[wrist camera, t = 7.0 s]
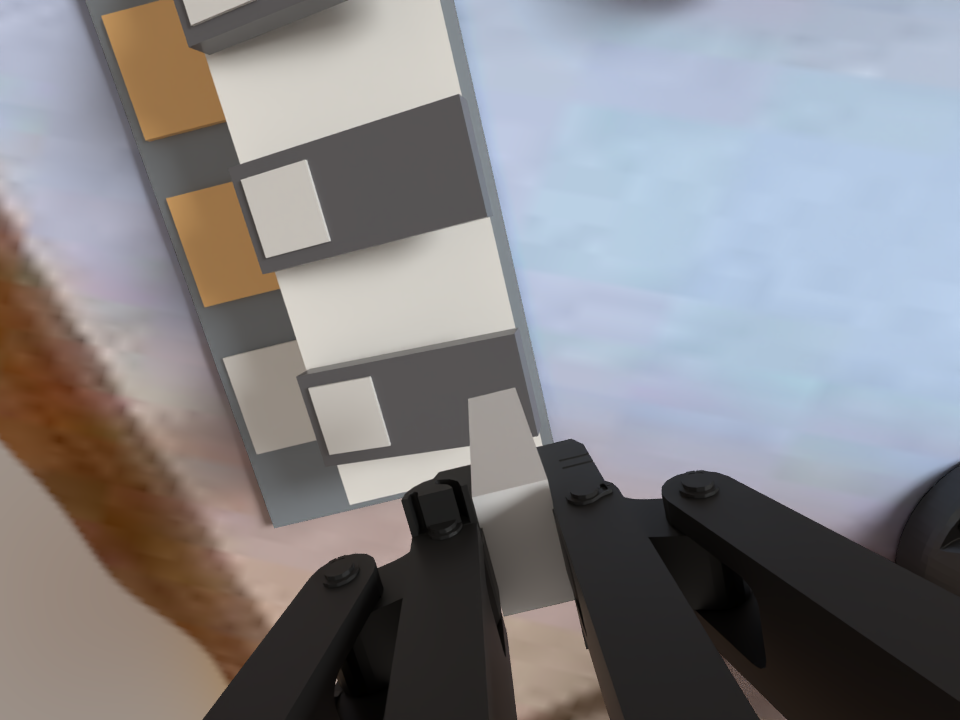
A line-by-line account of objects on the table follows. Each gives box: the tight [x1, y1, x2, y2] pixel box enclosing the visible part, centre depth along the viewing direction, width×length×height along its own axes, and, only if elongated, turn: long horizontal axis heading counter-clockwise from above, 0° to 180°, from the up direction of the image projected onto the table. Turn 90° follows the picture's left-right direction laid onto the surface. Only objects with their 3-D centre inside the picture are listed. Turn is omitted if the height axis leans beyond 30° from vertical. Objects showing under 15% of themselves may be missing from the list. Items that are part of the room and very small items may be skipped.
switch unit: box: [85, 0, 554, 528], centre depth 27 cm, size 18×34×8 cm, turn 14°
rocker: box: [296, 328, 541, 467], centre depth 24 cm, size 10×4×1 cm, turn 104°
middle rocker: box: [228, 94, 493, 274], centre depth 22 cm, size 10×4×1 cm, turn 104°
